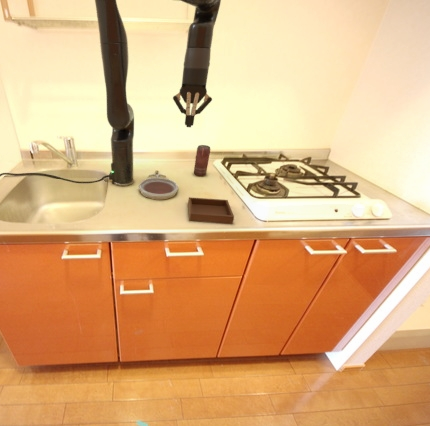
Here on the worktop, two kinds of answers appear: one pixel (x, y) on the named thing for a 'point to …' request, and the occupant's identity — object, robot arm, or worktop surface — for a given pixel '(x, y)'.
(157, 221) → the worktop surface
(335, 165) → the worktop surface
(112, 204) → the worktop surface
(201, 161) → the can
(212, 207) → the tray
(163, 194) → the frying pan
